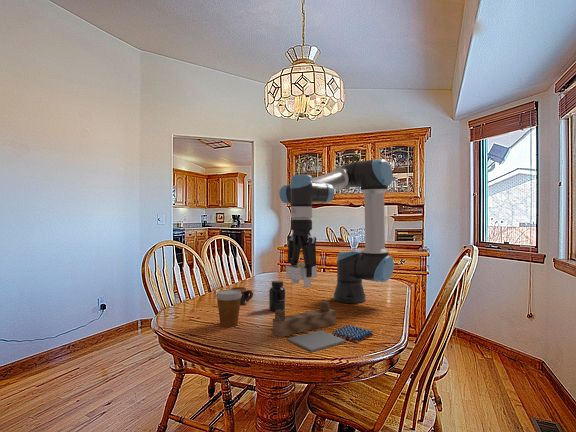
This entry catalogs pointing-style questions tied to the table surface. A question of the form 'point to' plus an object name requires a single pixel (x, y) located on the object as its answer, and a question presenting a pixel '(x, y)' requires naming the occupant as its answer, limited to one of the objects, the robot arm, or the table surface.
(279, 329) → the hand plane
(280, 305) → the supplement bottle
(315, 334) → the pad
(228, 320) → the disposable coffee cup
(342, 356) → the table surface
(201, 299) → the table surface
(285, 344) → the table surface
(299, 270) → the light grey block
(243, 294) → the pottery mug
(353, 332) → the woven mat
